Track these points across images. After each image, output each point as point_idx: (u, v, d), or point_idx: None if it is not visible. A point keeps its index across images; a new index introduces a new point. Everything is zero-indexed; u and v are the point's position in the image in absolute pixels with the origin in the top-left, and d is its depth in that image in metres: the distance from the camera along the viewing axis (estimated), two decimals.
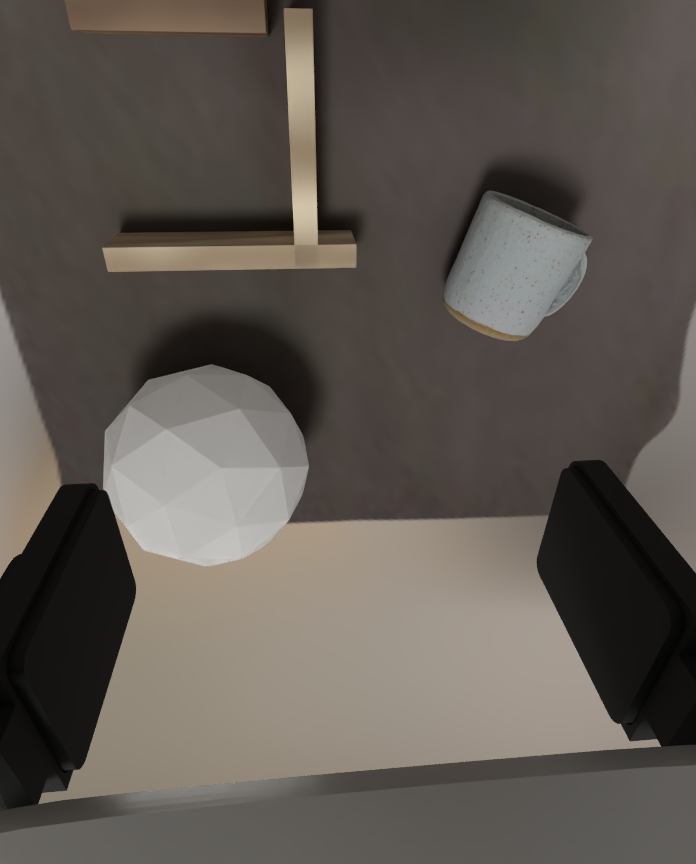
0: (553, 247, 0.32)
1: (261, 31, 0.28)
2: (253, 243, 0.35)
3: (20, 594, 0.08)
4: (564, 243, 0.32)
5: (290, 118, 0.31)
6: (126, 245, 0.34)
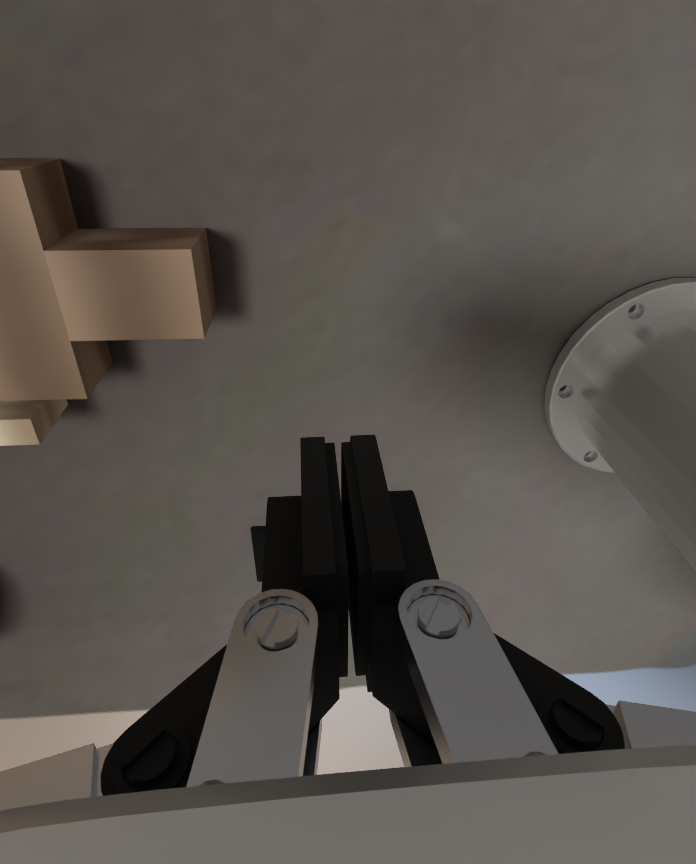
0: None
1: (1, 396, 0.26)
2: None
3: (319, 519, 0.09)
4: None
5: None
6: None
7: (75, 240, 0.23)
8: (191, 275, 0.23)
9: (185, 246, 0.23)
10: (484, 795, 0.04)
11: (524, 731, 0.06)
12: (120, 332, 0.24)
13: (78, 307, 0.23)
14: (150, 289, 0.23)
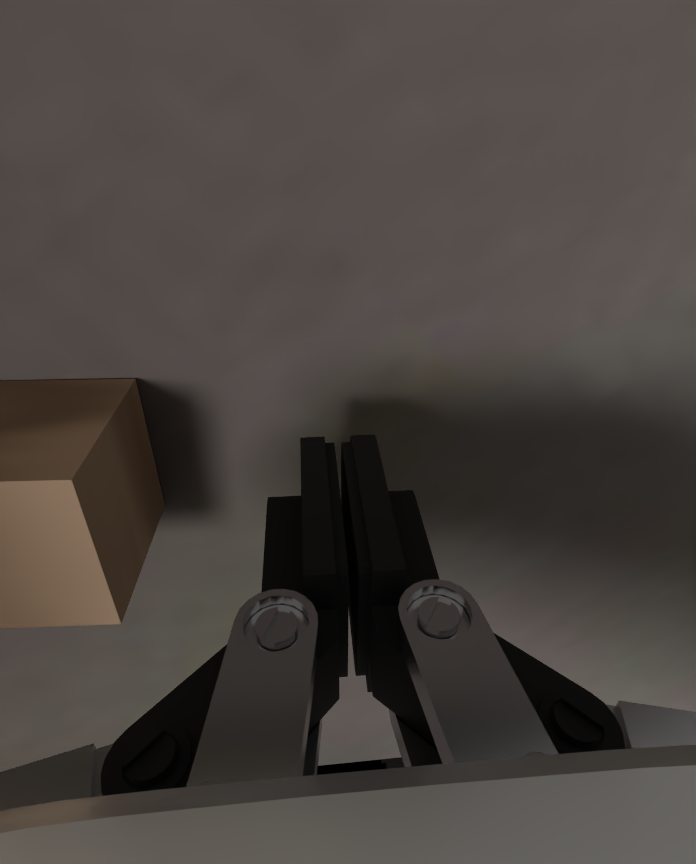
0: None
1: None
2: None
3: (319, 519, 0.09)
4: None
5: None
6: None
7: None
8: (78, 525, 0.10)
9: (64, 464, 0.10)
10: (484, 795, 0.04)
11: (524, 731, 0.06)
12: None
13: None
14: None
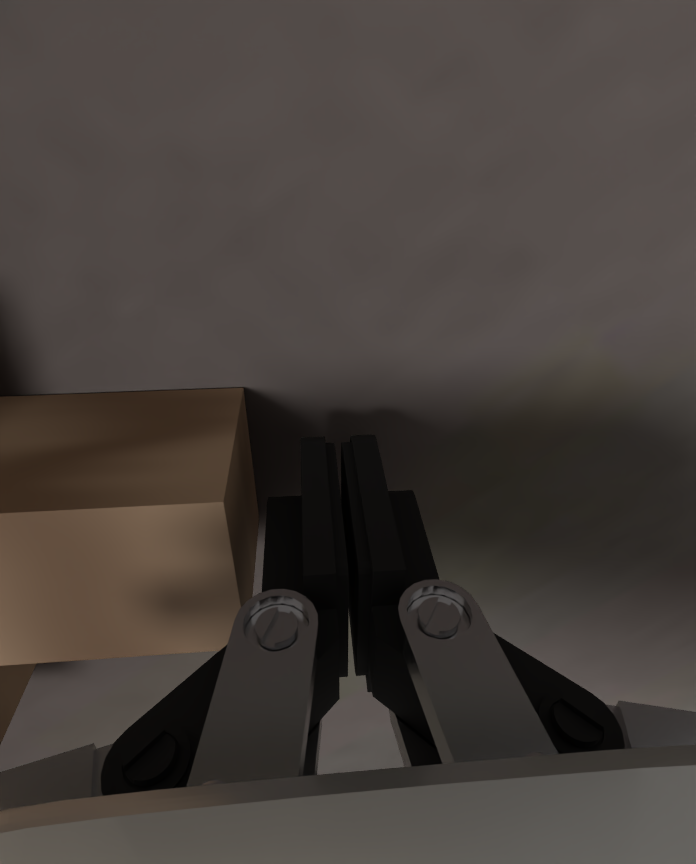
0: None
1: None
2: None
3: (319, 519, 0.09)
4: None
5: None
6: None
7: None
8: (222, 549, 0.10)
9: (208, 484, 0.09)
10: (484, 795, 0.04)
11: (524, 731, 0.06)
12: (59, 650, 0.11)
13: None
14: (126, 576, 0.10)
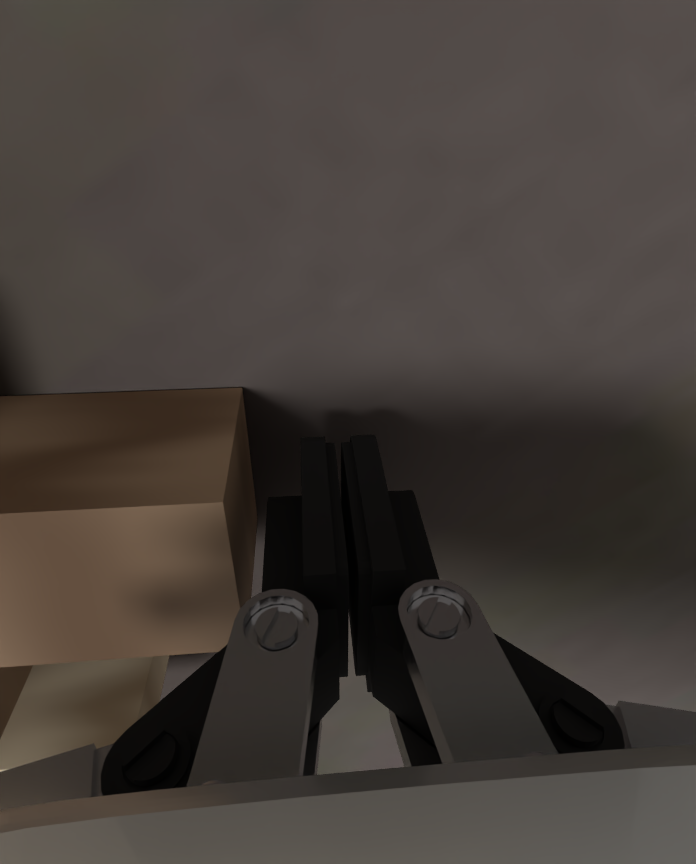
0: None
1: None
2: None
3: (319, 520, 0.09)
4: None
5: None
6: None
7: None
8: (221, 549, 0.09)
9: (207, 484, 0.09)
10: (484, 795, 0.04)
11: (524, 731, 0.06)
12: (57, 651, 0.11)
13: None
14: (124, 578, 0.10)
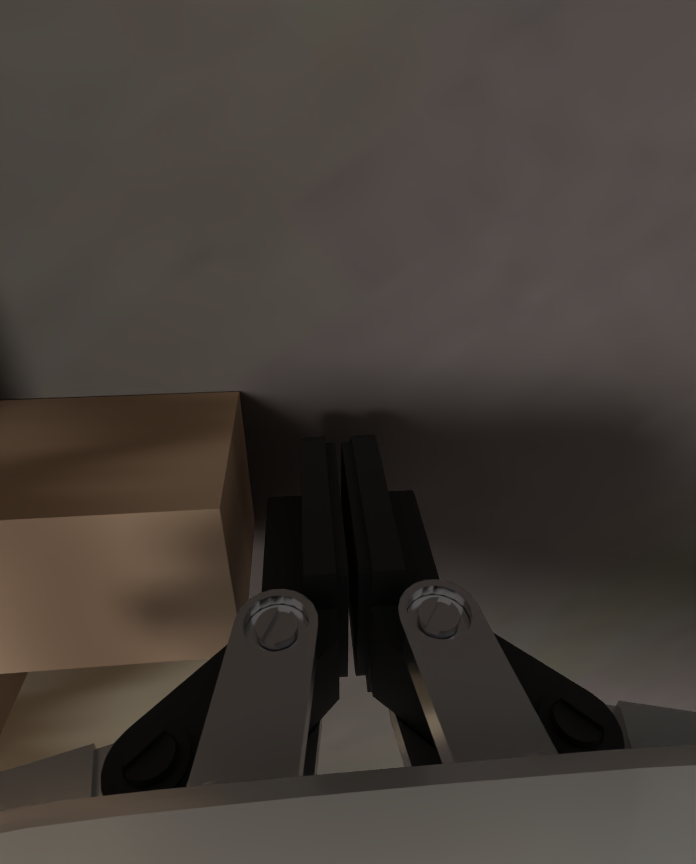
0: None
1: None
2: None
3: (319, 520, 0.09)
4: None
5: None
6: None
7: None
8: (218, 556, 0.09)
9: (203, 490, 0.09)
10: (484, 795, 0.04)
11: (524, 731, 0.06)
12: (52, 658, 0.11)
13: None
14: (120, 584, 0.10)
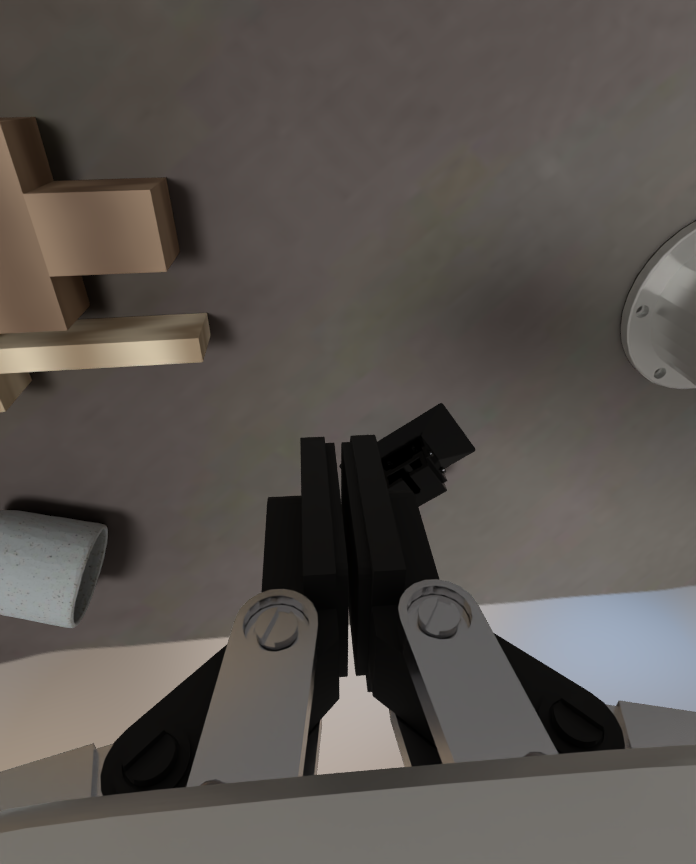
0: (55, 615, 0.37)
1: None
2: None
3: (319, 520, 0.09)
4: (61, 621, 0.37)
5: (109, 344, 0.30)
6: None
7: (50, 187, 0.27)
8: (151, 213, 0.27)
9: (145, 188, 0.26)
10: (483, 795, 0.04)
11: (524, 731, 0.06)
12: (93, 267, 0.28)
13: (55, 245, 0.27)
14: (117, 227, 0.27)
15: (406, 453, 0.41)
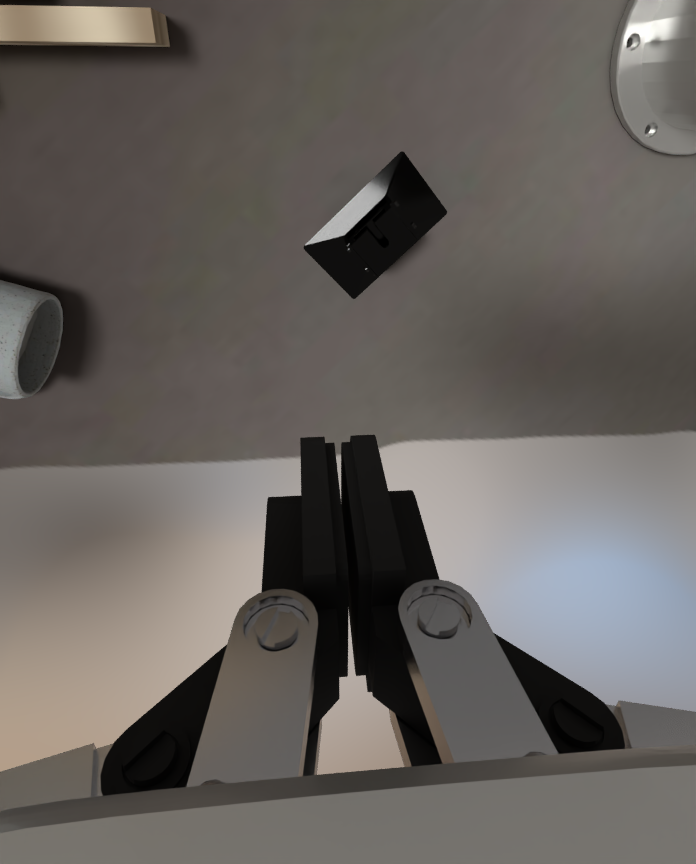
0: None
1: None
2: None
3: (319, 519, 0.09)
4: (4, 375, 0.35)
5: (53, 8, 0.28)
6: None
7: None
8: None
9: None
10: (484, 795, 0.04)
11: (524, 731, 0.06)
12: None
13: None
14: None
15: None
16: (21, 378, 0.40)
